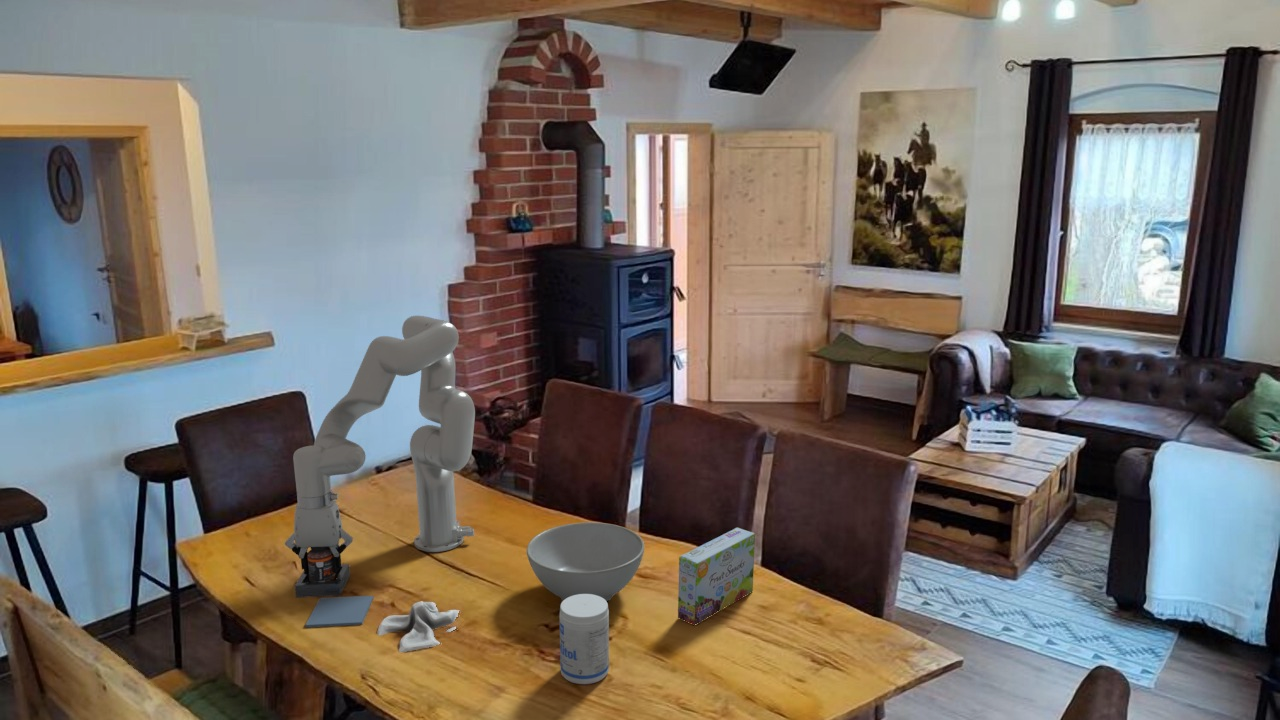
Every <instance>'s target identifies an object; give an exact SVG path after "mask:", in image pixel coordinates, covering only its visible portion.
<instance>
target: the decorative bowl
mask: <svg viewBox="0 0 1280 720" xmlns="http://www.w3.org/2000/svg"><path fill="white" fill-rule="evenodd" d="M644 554H645V542H644V539H643V538H642V537H641V536H640V535H639V534H638V533H636V532H635V531H633V530H631V529H629V528H627V527H624V526H620V525H617V524H612V523H604V522H594V521H593V522H592V521H591V522H590V521H589V522H586V521H585V522H575V523H573V522H572V523H569V524H562V525H560V526H554V527H552V528H549V529H546V530H544V531H541V532H539V533H538V534H536V535H535V536H534V537H533V538H532V539H531V540H530V541H529V542H528V545H526V555H527V556H526V557H527V560H528V562H529V565H530V567H531V569H532V571H533V573H534V575H535V576H536V578H537V579H538V580H539V582H540V583H541V584H542V585H543V586H544V587H545V588H546V589H547V590H548V591H549V592H550V593H552V594H554V595H555V596H557V597H560V598H561V601H562V602H563V601H564V600H565V599H566V598H568V597H570V596H573V595H578V594H593V595H597V596H600V597H602V598H603V599H605V600H606V601H608V600H609V601H611V600H612V598H613V597H612V596H614V595H616V594H618V593H619V592H620V591H622V590H623V589H624V588H625V587H626V586H627V585H628V584H629V583H630V582H631V580H632V579H633V578H634V576H635V574H636V573H637V571H638V569H639V567H640V565H641V563H642V559H643V556H644ZM611 597H612V598H611ZM609 601H608V602H609Z"/></svg>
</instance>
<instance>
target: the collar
mask: <svg viewBox="0 0 1280 720" xmlns="http://www.w3.org/2000/svg"><path fill="white" fill-rule="evenodd" d="M350 569H351V568H350V563H346V564H344V563H343V564H342V563H341V567H340V568H339V569H338V571H337V573H336V581H333V582H311V583H310V580H309V573H308V574H304V570H303V571H302V572H301V575H300V577H299V578H298V580H297V581H296V583H295V584H294V591H295V592H294V593H295V599H297V598H311V597H312V598H313V597H314V598H316V597H335V596H338V597H340V596H341V595H342V593H343V591H344V588H345V587H346V585H347V582H348V581H349V579H350V577H351V570H350Z"/></svg>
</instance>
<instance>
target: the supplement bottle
mask: <svg viewBox="0 0 1280 720" xmlns="http://www.w3.org/2000/svg"><path fill="white" fill-rule="evenodd" d="M307 552H308V554H307V559H308V569H309V580H310V583H311V582H333V581H336V579H337V578H336V573H334V572H333V565H332V557H333V553H332V551H331V549H330V547H310V550H308V551H307Z"/></svg>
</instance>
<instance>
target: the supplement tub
mask: <svg viewBox="0 0 1280 720" xmlns="http://www.w3.org/2000/svg"><path fill="white" fill-rule="evenodd" d="M559 607H560V608H559V653H560V654H559V655H560V656H559V661H560V662H559V663H560V664H559V666H560V673H561V676H562V677H563V678H564V679H565V680H566V681H567V682H568V681H569V683H572V684H577V685H590V684H591V685H592V684H594V683H597V682H600V681H601V680H603V679H604V678H605V677H607V675H608V673H609V669H610V636H609V635H610V625H609V624H610V620H609V619H610V618H609V617H610V616H609V615H610V614H609V613H610V611H609V604H608V602H607V601H606V600H605V599H603V598H602V597H600V596H597V595H593V594H578V595H573V596H570V597H568V598H566V599H565V600H564V601H563V600H562V601H561V603H560V606H559Z"/></svg>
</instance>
